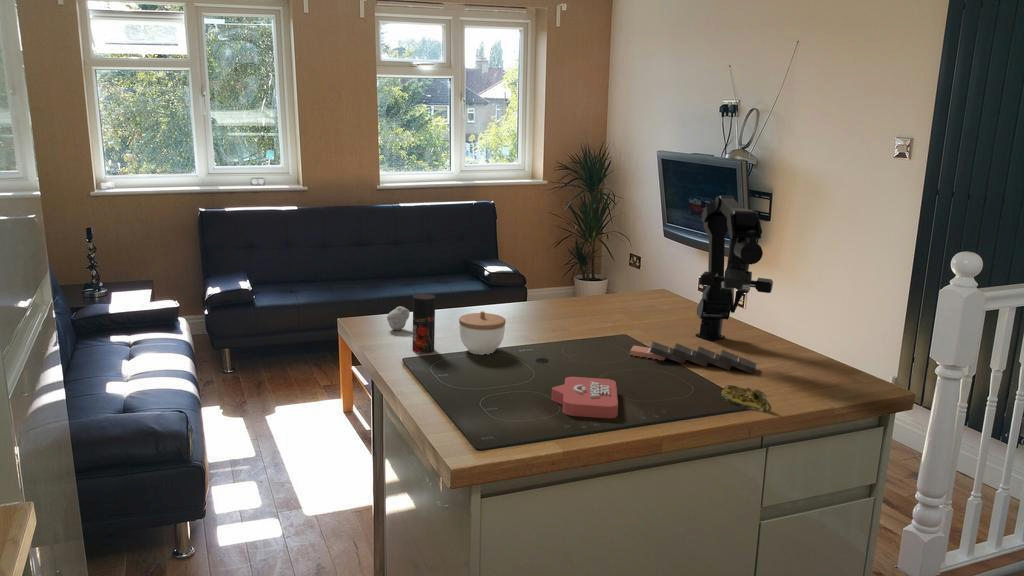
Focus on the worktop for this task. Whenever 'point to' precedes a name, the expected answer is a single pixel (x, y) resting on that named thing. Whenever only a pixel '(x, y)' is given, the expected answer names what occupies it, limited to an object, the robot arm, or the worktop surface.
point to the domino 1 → (644, 353)
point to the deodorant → (423, 323)
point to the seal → (746, 397)
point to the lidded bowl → (482, 332)
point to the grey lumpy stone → (398, 318)
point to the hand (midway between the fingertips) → (732, 312)
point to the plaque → (587, 397)
